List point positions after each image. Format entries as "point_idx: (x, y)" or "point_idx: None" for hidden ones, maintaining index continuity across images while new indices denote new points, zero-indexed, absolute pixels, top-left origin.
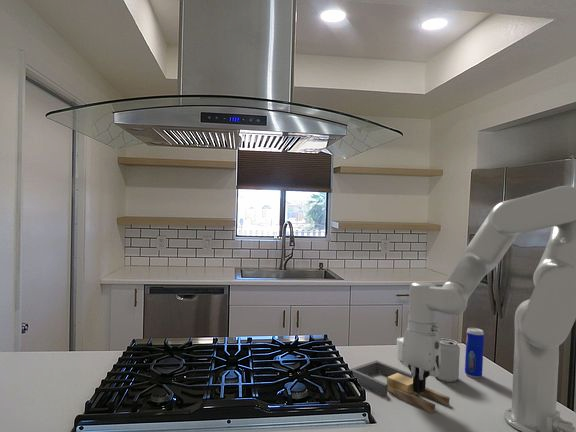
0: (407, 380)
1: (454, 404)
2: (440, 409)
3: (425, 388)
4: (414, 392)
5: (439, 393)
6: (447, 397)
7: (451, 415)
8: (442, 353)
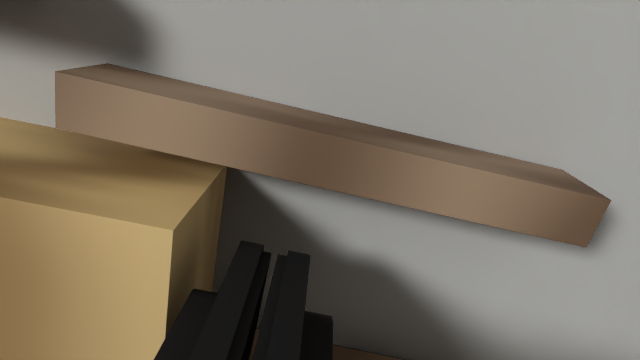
0: (63, 310)
1: (613, 128)
2: (497, 307)
3: (289, 157)
4: (210, 233)
5: (479, 179)
6: (586, 222)
7: (595, 343)
8: None
